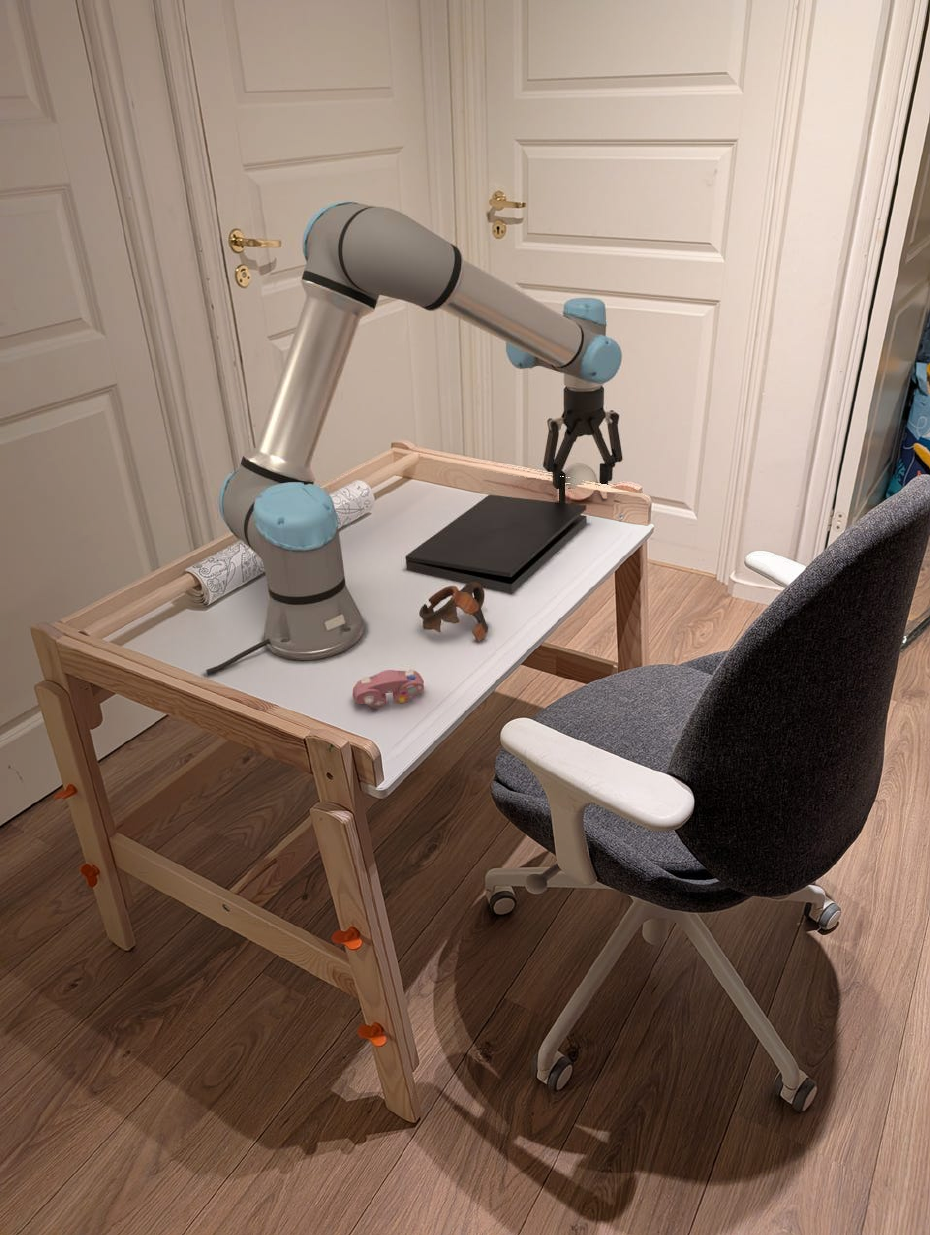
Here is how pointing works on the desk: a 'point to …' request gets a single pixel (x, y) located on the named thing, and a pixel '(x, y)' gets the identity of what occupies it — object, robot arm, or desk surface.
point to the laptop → (499, 581)
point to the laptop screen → (497, 535)
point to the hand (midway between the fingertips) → (582, 499)
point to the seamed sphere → (579, 475)
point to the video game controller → (388, 687)
